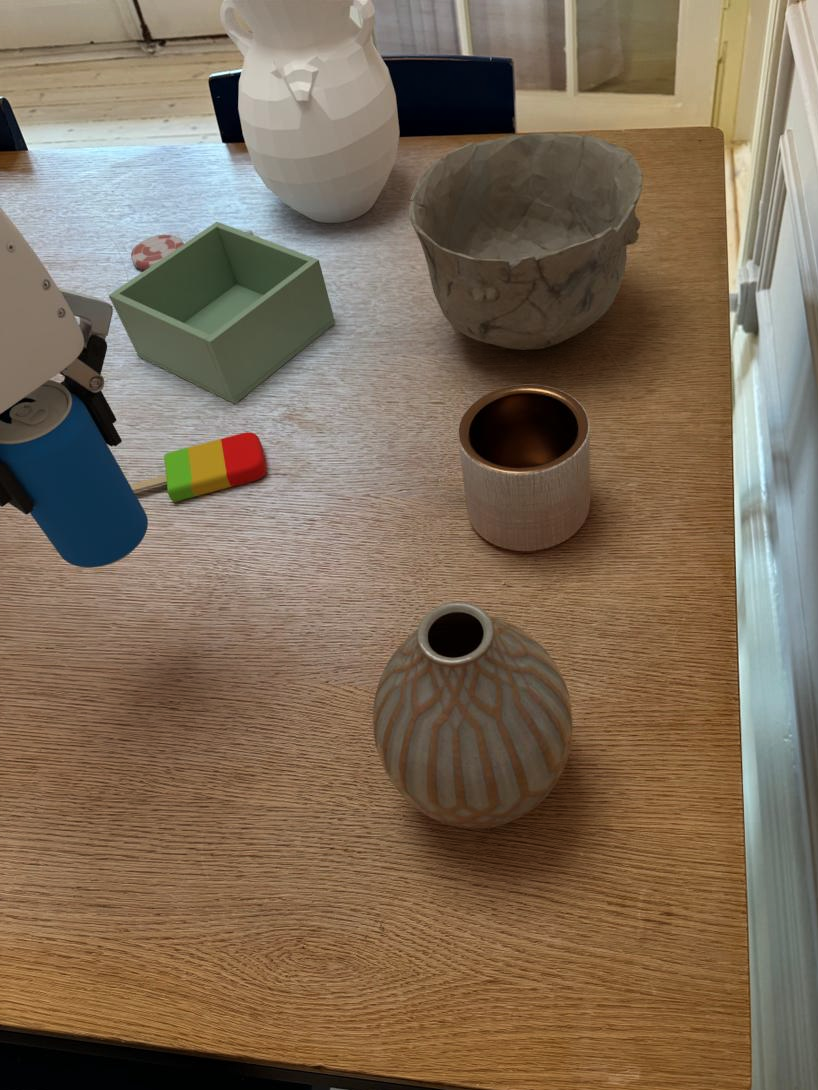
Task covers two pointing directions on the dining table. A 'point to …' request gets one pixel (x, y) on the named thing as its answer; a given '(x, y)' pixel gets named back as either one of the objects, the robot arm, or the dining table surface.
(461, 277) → the bowl
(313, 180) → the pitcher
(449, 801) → the vase
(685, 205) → the dining table surface
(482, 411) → the planter
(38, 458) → the beverage can
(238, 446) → the popsicle
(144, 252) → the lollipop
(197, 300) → the bin
